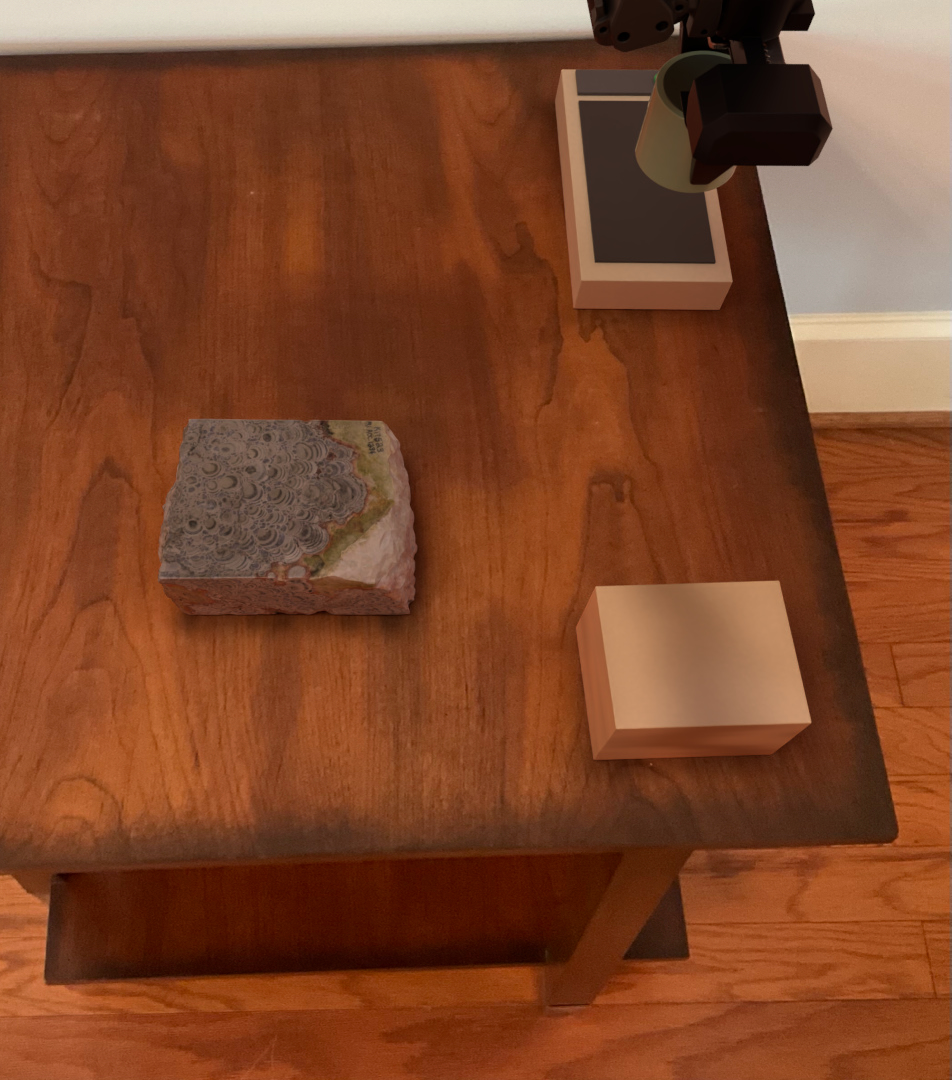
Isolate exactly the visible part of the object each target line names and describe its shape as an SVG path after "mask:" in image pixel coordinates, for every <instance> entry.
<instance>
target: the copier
mask: <svg viewBox="0 0 952 1080" xmlns="http://www.w3.org/2000/svg"><path fill="white" fill-rule="evenodd" d="M659 70H660V69H568V68H567V69H564V68H563V69H561V70H560V74H559V80H558V85H557V89H556V95H555V100H554V104H555V105H554V106H555V117H556V128H557V141H558V149H559V163H560V173H561V185H562V195H563V205H564V206H563V207H564V218H565V229H566V241H567V248H568V249H567V252H568V262H569V263H568V264H569V275H570V285H571V286H570V287H571V297H572V307H573V310H575V309H576V310H577V309H579V310H582V309H583V310H584V309H586V310H590V309H591V310H667V311H668V310H669V311H670V310H674V311H675V310H676V311H678V310H681V311H682V310H684V311H685V310H686V311H720V309H721V307H722V305H723V303H724V302H725V299H726V296H727V295H728V293H729V290H730V289H731V286H732V284H733V276H732V270H731V263H730V258H729V252H728V246H727V242H726V240H727V239H726V234H725V230H724V229H725V228H724V223H723V219H722V218H723V217H722V213H721V207H720V206H721V205H720V201H719V194H718V189H717V188H715V189H713V190H710V191H706V192H701V193H684V192H678V191H673V190H670V189H667V188H665V187H663V186H661V185H659V184H657V183H655V182H654V181H652V180H651V179H650V178H649V177H648V176H646V174H645V173H644V172H643V171H642V170H641V168H640V166H639V164H638V162H637V159H636V154H635V147H636V143H637V139H638V136H639V133H640V129H641V126H642V123H643V119H644V116H645V113H646V109H647V106H648V103H649V99H650V96H651V93H652V90H653V86H654V83H655V80H656V76H657V74H658V72H659Z"/></svg>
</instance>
